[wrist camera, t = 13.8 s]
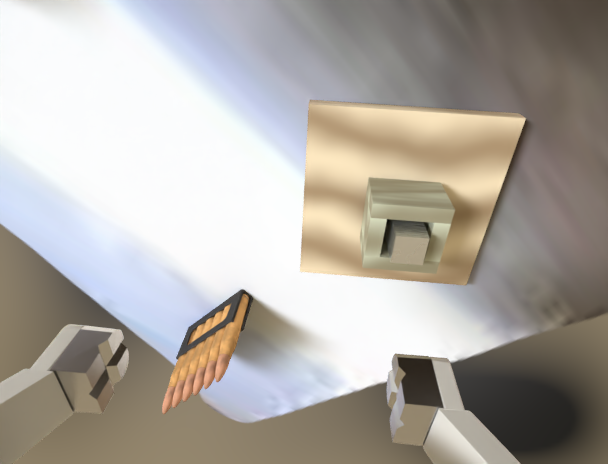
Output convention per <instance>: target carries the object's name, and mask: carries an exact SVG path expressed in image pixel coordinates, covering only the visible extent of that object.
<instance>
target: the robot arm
mask: <svg viewBox="0 0 608 464" xmlns="http://www.w3.org/2000/svg"><path fill="white" fill-rule="evenodd" d="M123 338H124V337H123V334H122V331H121V330H118V329H110V328H101V327H92V326H83V325H73V324H69V325H67V326H65V327H64V328H63V329H62V330H61V331H60V333H59V334H58V335H57V336H56V337H55V339H54V340H53V341H52V343H51V344H50V345H49V346H48V347H47V349H46V350H45V351H44V352H43V354H42V355H41V356H40V357H39V359H38V360H37V361H36V362H35V363H34V365H33V366H32V367H31V369H24V370H22V371H20V372H18V373H17V374H15V375H13V376H11V377H10V378H8V379H6V380H4V381H3V382H1V383H0V464H13V463H14V462H16V461H17V460H18V459H19V458H20V457H21V456H23V455H24V454H25V453H26V452H28V451H29V450H30V449H31V448H32V447H34V446H35V445H36V444H37V443H38V442H40V441H41V440H42V439H43V438H44V437H46V436H47V435H48V434H49V433H50V432H52V431H53V430H54V429H55V428H56V427H58V426H59V425H60V424H61V423H63V422H64V421H65V420H66V419H67V418H69V417H70V416H71V415H72V414H73V412H86V413H100V414H103V412H104V410H105V408H106V406H107V405H108V403H109V401H110V399H111V398H112V396H113V394H114V390H113V385H114V384H116V383H117V382H118V381H120V380H121V379H122V377H123V376H124V374H125V372H126V369H127V365H128V362H129V353H128V350H127V347H125V346H124V345H123V344H122V343H121V342H122V340H123ZM392 368H393V370H391V371H390V372H389V375H388V379H387V401H388V405H389V407H390V408H391V409H392V413H391V417H390V426H391V434H392V441H393V442H394V443H402V444H410V445H418V446H423V449H424V450H425V452H426V453H427V455H428V456H429V458H430V459H431V461H432V462H433V464H520V463H519V462H518V461H517V460H516V458H515V457H514V456H513V455H512V454H511V453H510V452H509V451H508V450H507V449H506V448H505V447H504V446H503V445H502V444H501V443H500V442H499V441H498V440H497V439H496V438H495V437H494V435H493V434H491V432H489V430H488V429H487V428H486V427H485V426H484V425H483V424H482V423H481V422H480V421H479V420H478V419H477V418H476V417H475V416H474V415H473V414H472V413H471V412H470V411H466V410H464V406H463V403H462V400H461V397H460V394H459V390H458V387H457V384H456V381H455V377H454V374H453V370H452V367H451V364H450V361H449V360H448V359H447V358H437V357H428V356H417V355H404V354H395V355H394V356H393V359H392Z"/></svg>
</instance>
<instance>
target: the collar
mask: <svg viewBox="0 0 608 464" xmlns="http://www.w3.org/2000/svg"><path fill="white" fill-rule="evenodd" d="M454 212H455V208H454V207H453V205H452V203H451V201H450V199H449V197H448V195H447V193H446V192H445V190H444V188H443V186H442V184H441V183H440V182H426V181H413V180H399V179H385V178H371V177H369V179H368V185H367V192H366V199H365V206H364V212H363V219H362V226H361V232H360V244H361V255H362V266H363V268H371V269H383V270H395V271H407V272H420V273H432V274H436V273H437V269H438V266H439V263H440V259H441V256H442V253H443V249H444V246H445V243H446V239H447V236H448V232H449V229H450V226H451V222H452V219H453V216H454ZM387 219H392V220H405V221H418V222H424V225H425V227H426V230H427V233H428V235H429V238H430V239H429V243H428V247H427V250H426V254H425V258H424V262H423V265H415V264H402V263H390V258H389V253H388V247H387V242H386V237H385V227H386V222H387Z"/></svg>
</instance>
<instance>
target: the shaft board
mask: <svg viewBox="0 0 608 464" xmlns="http://www.w3.org/2000/svg"><path fill="white" fill-rule="evenodd" d="M525 120H526V118H525V117H523V116H522V115H520V114H519V113H504V112H489V111H474V110H458V109H443V108H428V107H412V106H397V105H382V104H367V103H351V102H336V101H321V100H310V101H309V110H308V130H307V149H306V169H305V188H304V207H303V227H302V246H301V265H300V272H310V273H323V274H335V275H347V276H359V277H371V278H383V279H396V280H408V281H420V282H432V283H444V284H456V285H466V284H467V282H468V279H469V276H470V273H471V271H472V268H473V265H474V262H475V259H476V257H477V254H478V251H479V248H480V245H481V243H482V240H483V237H484V234H485V231H486V229H487V226H488V223H489V220H490V218H491V215H492V212H493V209H494V206H495V204H496V201H497V198H498V195H499V192H500V190H501V187H502V184H503V181H504V178H505V176H506V173H507V170H508V167H509V165H510V162H511V159H512V156H513V153H514V151H515V148H516V145H517V142H518V139H519V137H520V134H521V131H522V128H523V125H524V123H525ZM369 177H371V178H385V179H399V180H413V181H426V182H440V183H441V184H442V186H443V188H444V190H445V192H446V193H447V195H448V197H449V199H450V201H451V203H452V205H453V207H454V208H455V212H454V216H453V219H452V222H451V226H450V229H449V232H448V236H447V239H446V243H445V246H444V249H443V253H442V256H441V259H440V263H439V266H438V269H437V273H436V274H432V273H420V272H407V271H395V270H383V269H371V268H363V266H362V255H361V244H360V232H361V226H362V219H363V212H364V206H365V199H366V192H367V185H368V179H369ZM385 237H386V242H387V247H388V253H389V258H390V263H402V264H415V265H423V262H424V258H425V254H426V250H427V247H428V243H429V239H430V238H429V235H428V233H427V230H426V227H425V225H424V222H418V221H405V220H392V219H387V222H386V227H385Z"/></svg>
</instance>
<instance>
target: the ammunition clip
mask: <svg viewBox="0 0 608 464" xmlns="http://www.w3.org/2000/svg"><path fill="white" fill-rule="evenodd" d="M252 300H253V298H252V297H251V296H250V295H249V294H247V293H246V292H245V291H244V290H240V291H239V292H237V293H236V294H234V295H233V296H232V297H230V298H229V299H227V300H226V301H225V302H223V303H222V304H221V305H219V306H218V307H216V308H215V309H214V310H212V311H211V312H209V313H208V314H207V315H205V316H204V317H203V318H201V319H200V320H198V321H197V322H196V323H194V324H193V325H191V326H190V327H189V328H188V331H187V333H186V335H185V338H184V340H183V343H182V345H181V348H180V350H179V352H178V355H177V357H176V359H178V361H177V363H176V366H175V368H174V371H173V373H172V375H171V379H170V384H169V386H168V390H167V392H166V395H165V398H164V402H163V408H162V411H163V414H165V413H166V412H167V411H168V410H169V409H170V407H171V405H172V406H173V408H175V407H176V406H177V405H178V404H179V403H180V401H181V400H182V398H183V401H184V402H185V401H186V400H187V399H188V398H189V397H190V395H191V394H192V392H193V394H194V395H197V394H198V393H199V391H200V390H201V388H202V387H203V385H204V388H205V389H207V388H208V387H209V386H210V385H211V383H212V382H213V380H214V378H215V379H216V382H219V381H220V380H221V378H222V377H223V375H224V374H225V372H226V369H227V367H228V364H229V361H230V359H231V356H232V353H233V351H234V350H235V348H236V344H237V341H238V338H239V334H240V332H241V331H242V330H244V327H245V323H246V320H247V316H248V313H249V310H250V306H251V303H252Z"/></svg>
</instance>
